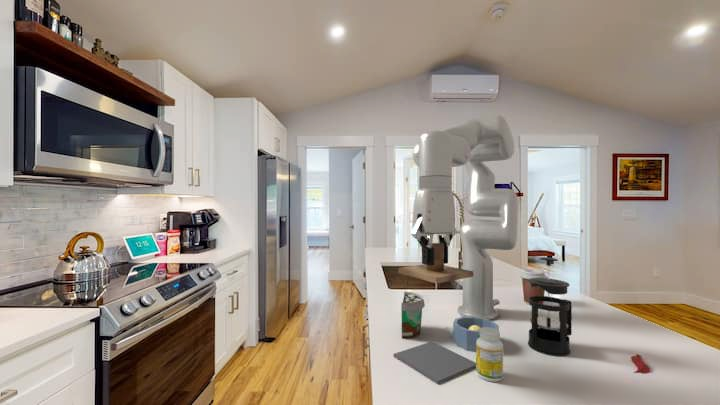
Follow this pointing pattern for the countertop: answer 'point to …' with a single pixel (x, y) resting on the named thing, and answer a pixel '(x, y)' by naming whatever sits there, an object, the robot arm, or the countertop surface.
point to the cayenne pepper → (640, 364)
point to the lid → (436, 269)
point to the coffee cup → (527, 288)
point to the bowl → (469, 331)
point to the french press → (546, 329)
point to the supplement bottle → (489, 355)
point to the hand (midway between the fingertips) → (434, 262)
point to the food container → (411, 314)
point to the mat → (435, 361)
